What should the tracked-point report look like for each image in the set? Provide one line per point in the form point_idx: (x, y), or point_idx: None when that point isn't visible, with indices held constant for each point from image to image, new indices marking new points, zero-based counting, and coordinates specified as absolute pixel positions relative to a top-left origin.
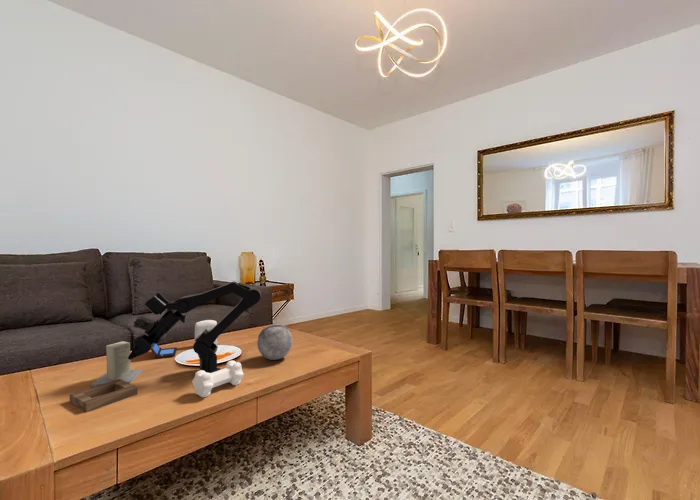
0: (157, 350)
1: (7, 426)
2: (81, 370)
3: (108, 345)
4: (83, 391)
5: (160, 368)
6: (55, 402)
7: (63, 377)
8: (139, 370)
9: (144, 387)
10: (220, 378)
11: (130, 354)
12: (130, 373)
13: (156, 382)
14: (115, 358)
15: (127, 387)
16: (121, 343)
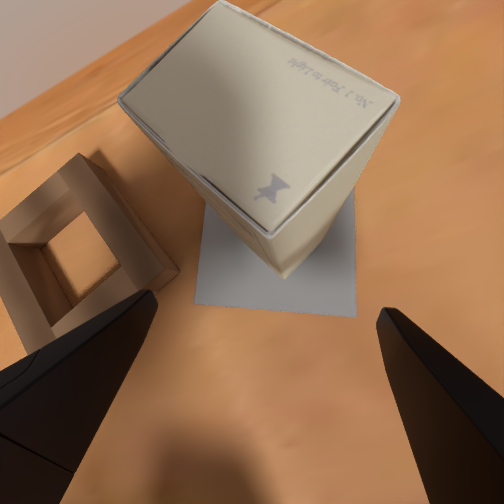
0: None
1: (24, 106)
2: (419, 49)
3: (218, 18)
4: (83, 184)
5: (377, 412)
6: (117, 131)
7: (342, 33)
8: (340, 306)
9: (129, 380)
10: None
11: (99, 318)
12: (304, 274)
13: (168, 425)
14: (198, 192)
15: (49, 336)
16: (265, 127)
